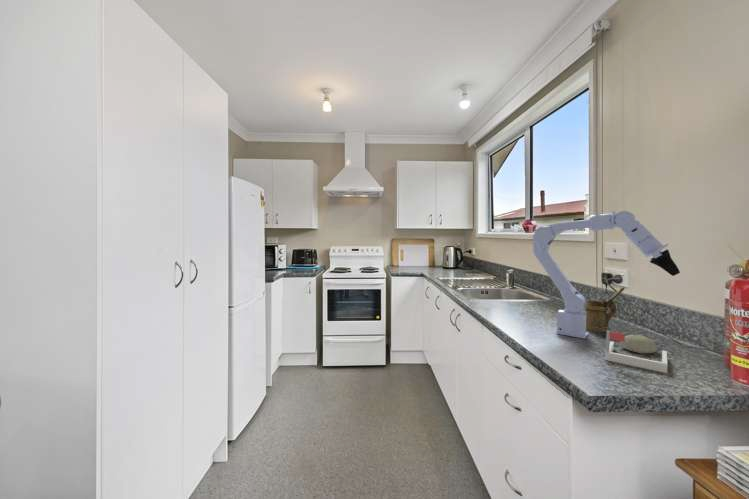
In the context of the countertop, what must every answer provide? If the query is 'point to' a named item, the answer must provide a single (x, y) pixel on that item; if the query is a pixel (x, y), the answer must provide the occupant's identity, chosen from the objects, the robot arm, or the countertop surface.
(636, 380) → the countertop surface
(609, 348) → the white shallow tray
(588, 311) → the wooden mug
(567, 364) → the countertop surface
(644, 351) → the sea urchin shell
